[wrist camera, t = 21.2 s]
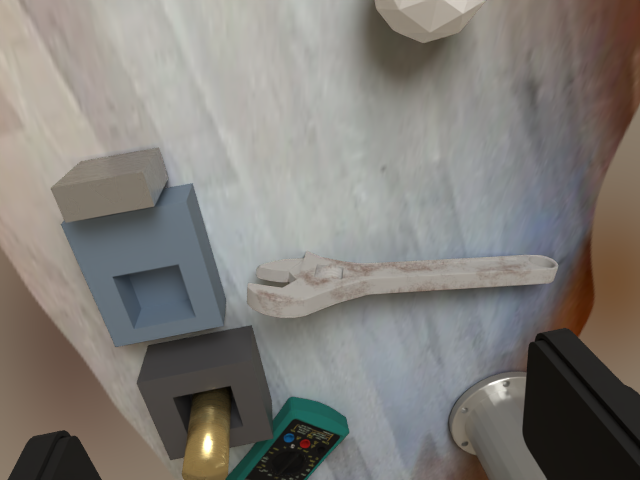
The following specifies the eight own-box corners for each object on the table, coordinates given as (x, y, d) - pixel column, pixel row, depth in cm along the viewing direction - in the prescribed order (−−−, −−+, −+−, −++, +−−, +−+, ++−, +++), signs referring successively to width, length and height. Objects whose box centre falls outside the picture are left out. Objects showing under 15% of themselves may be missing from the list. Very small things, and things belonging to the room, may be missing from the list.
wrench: (523, 256, 49) (240, 269, 42) (528, 240, 48) (240, 251, 41) (578, 297, 42) (250, 322, 35) (584, 280, 42) (250, 302, 34)
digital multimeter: (350, 411, 53) (355, 433, 50) (278, 494, 57) (279, 519, 55) (293, 387, 50) (295, 409, 47) (223, 477, 55) (221, 501, 52)
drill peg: (236, 390, 47) (233, 481, 38) (201, 398, 47) (190, 491, 38) (226, 364, 45) (221, 453, 37) (190, 372, 45) (175, 464, 37)
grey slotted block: (271, 399, 50) (273, 438, 45) (177, 419, 49) (170, 460, 45) (251, 325, 45) (251, 360, 41) (148, 345, 45) (136, 383, 40)
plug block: (190, 246, 40) (180, 283, 35) (119, 259, 40) (99, 299, 34) (159, 147, 36) (142, 171, 31) (80, 161, 36) (50, 188, 30)
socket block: (225, 299, 43) (223, 325, 40) (127, 318, 43) (115, 347, 39) (192, 183, 38) (186, 201, 35) (79, 203, 38) (60, 224, 34)
